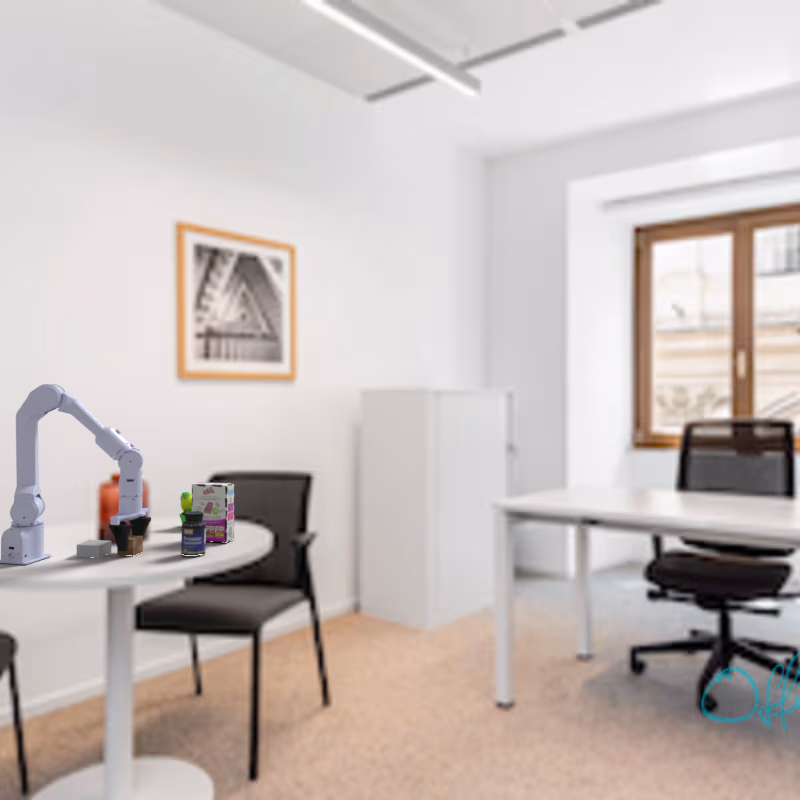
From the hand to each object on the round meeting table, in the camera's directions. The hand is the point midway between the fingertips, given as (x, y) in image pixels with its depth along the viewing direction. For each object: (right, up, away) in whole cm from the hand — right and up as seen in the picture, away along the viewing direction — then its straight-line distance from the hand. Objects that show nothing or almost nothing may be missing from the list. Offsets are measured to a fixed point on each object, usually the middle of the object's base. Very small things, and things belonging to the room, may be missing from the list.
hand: (130, 547), depth 183 cm
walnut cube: (0, -2, 0) cm, 2 cm away
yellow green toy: (+6, -2, +36) cm, 37 cm away
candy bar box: (+17, -2, +18) cm, 24 cm away
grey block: (-9, -2, -2) cm, 9 cm away
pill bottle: (+16, -2, 0) cm, 16 cm away
